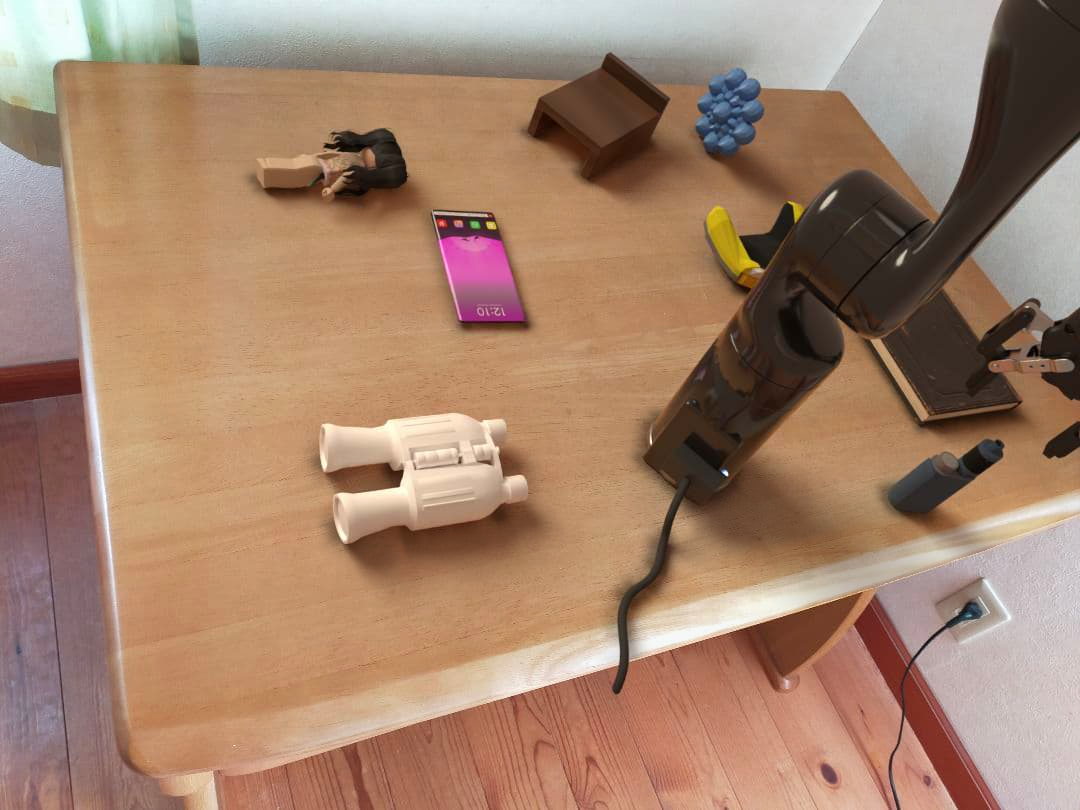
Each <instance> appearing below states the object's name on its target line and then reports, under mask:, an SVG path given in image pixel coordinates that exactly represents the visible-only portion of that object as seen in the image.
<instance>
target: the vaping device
mask: <svg viewBox="0 0 1080 810" xmlns="http://www.w3.org/2000/svg"><path fill="white" fill-rule="evenodd" d="M1003 449H1005V443H1004V442H1003V441H1002V440H1000V439H998V438H997V439H994V440H993V439H991V438H984V439H983V440H981V441H980V442H979V443H977V444H976V445H975V446H974V447H972V448H971V449H970V450H968V451H967V452H965V454H963V455H961V456H960V457H959V458H957V457H956V456H955V455H954V454H953V453H952V452H949V451H947V450H946V451H945V450H944V451H942V452H941V453H939V454H934V455H933V456H932V457H931V458H930V457H928V458H925V460H923V461H921V463H919V464H918V465H917V466H916V467H914V468H913V469H912V470H910V471H909V472H908V473H907V474H906V475H904V476H902V478H901V479H900V480H898V481H897V482H895V483H894V484H893V485H892V487H891V488H890V489H889V492H888V493H887V496H888V500H889V503H890V504H891V505H892V507H894V508H895V509H897V510H899V511H900V510H901V511H906V512H912V513H916V514H921V515H927V514H929V513H930V512H932V511H933V510H934V509H936V508H937V507H939V506H940V505H941V504H943V503H944V502H945V501H947V500H948V499H950V498H951V497H952V496H953V495H955V494H956V493H958V492H960V490H962V489H963V488H965V487H966V486H967V485H969V484H970V483H972V482H974V481H975V480H976V478H977V477H978V476H980V475H981V474H982V473H985V471H987V470H988V469H989V468H991V467H993V465H995V464H996V463H998V462H1000V461H1001V460H1002V459H1003V458H1004V451H1003Z"/></svg>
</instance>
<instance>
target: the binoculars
mask: <svg viewBox="0 0 1080 810" xmlns="http://www.w3.org/2000/svg"><path fill="white" fill-rule="evenodd" d="M508 439H509V433H508V426H507V424H506V421H505V420H504V419H503V418H496V419H484V420H482V421H478V420H477V419H475V418H473V417H471V416H469V415H467V414H463V413H457V412H450V413H442V414H441V413H440V414H432V415H423V416H414V417H413V416H412V417H404V418H395V419H388V420H387V421H386V423H384V424H383V425H381V426H380V425H379V426H375V427H359V426H342V425H337V424H334V423H333V424H332V423H322V424H321V426H320V430H319V440H318V441H319V442H318V443H319V458H320V464H321V469H322V471H323V472H324V473H328V474H329V473H333V472H336V471H338V470H341V469H347V468H354V467H361V466H369V465H377V464H385V463H388V464H389V466H390V468H391V470H392V471H394V472H396V471H403V474H402V478H401V480H400V484H399V487H398V486H397V487H392V488H391V487H390V488H385V489H378V490H371V491H365V492H357V493H351V492H339V493H336V494H334V495H333V498H332V515H333V520H334V524H335V529H336V531H337V534H338V536H339V538H340V541H341V542H342V543H343V544H344V545H348V544H352V543H354V542H356V541H358V540H359V539H361V538H362V537H365V536H368V535H372V534H374V533H377V532H381V531H383V530H386V529H388V528H391V527H400V526H406V527H407V528H408V529H409V531H412V532H413V531H418V530H427V529H431V528H438V527H443V526H449V525H455V524H456V525H457V524H461V523H469V522H473V521H480V520H482V519H484V518H486V517H488V516H490V515H492V514H493V512H494V511H496V510H497V509H498V508H499V506H501V505H502V504H506V505H509V504H513V503H519V502H526V500H527V499H528V497H529V485H528V482H527V479H526V477H525V476H524V475H523V474H517V475H510V476H509V475H508V476H503V470H502V464H501V461H500V457H499V455H500V448H499V446H498V445H505V444H507V441H508ZM485 461H489V462H490V464H488V463H483V462H485Z"/></svg>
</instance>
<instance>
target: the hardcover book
mask: <svg viewBox="0 0 1080 810" xmlns="http://www.w3.org/2000/svg"><path fill="white" fill-rule="evenodd" d="M863 339H864V341H865V342H866V344H867V345H868V347H869V349H870V351H871V352H872V353H873V355H874V357H875V359H876V360H877V361H878V363H879V365H880V366H881V368H882V369H883V371H884V372H885V374H886V376H887V377H888V379H889V381H890V382H891V384H892V385H893V387H894V388H895V390H896V391H897V393H898V394H899V396H900V398H901V399H902V401H903V403H904V404H905V406H906V407H907V409H908V410H909V412H910V414H911V416H912V417H913V418H914V420H915V422H916V424H917V425H918V426H920V425H921V426H922V425H930V424H936V423H942V422H948V421H954V420H960V419H967V418H974V417H980V416H987V415H993V414H999V413H1005V412H1010V411H1013V410H1014V409H1016V408H1017V407H1019V406H1020V405H1021V404H1022V403H1023V402H1024V401H1023V399H1022V397H1021V396H1020V394H1018V391H1017V390H1016V388H1014V386H1013V384H1012V383H1011V382H1010V381H1009V379H1008V378H1007V376H1006V375H1005V373H1004V372H1000V373H999V375H998V377H997V378H995V379H994V380H993V381H992V382H990V383H989V384H988V385H987V386H986V387H984V388H983V389H982V390H981V391H980V392H978V393H977V394H976V395H975V396H974V397H972V398H970V397H969V396H968V395H966V394H965V392H966V390H967V387H966V386H965V383H966V381H967V379H968V378H969V376H970V374H971V373H972V372H973V371H974V370H976V369H977V368H978V367H979V366H980V365H981V364H983V363H984V362H985V361H986V359H985V357H984V356H983V355H981V354H979V353H978V352H977V350H976V348H977V346H978V344H979V343H980V341H981V339H980V338H979V337H978V336H977V334H976V332H975V331H974V329H972V326H971V325H969V323H968V321H967V320H966V318H965V317H964V315H963V314H962V313H961V312H960V310H959V308H958V307H957V306H956V304H955V303H954V302H953V300H952V299H951V297H950V296H949V295H948V293H947V292H946V290H945V289H944V287H942V289H941V290H940V291H939V292H938V293H937V294H936V295H935V296H934V297H933V298H932V299H931V300H930V301H929V302H928V304H927V305H926V306H925V307H924V308H923V309H921V310H920V311H919V312H918V313H917V314H916V315H915V316H914V317H913V318H912V319H911V320H910V321H908V322H907V323H906V324H905V325H904V326H902V327H901V328H899V329H898V330H897V331H895V332H893V333H892V334H890V335H888V336H886V337H883V338H880V339H874V340H870V339H866V338H863Z"/></svg>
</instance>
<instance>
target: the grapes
mask: <svg viewBox="0 0 1080 810" xmlns="http://www.w3.org/2000/svg"><path fill="white" fill-rule="evenodd" d="M761 89H762V86H761V83H760V81H759V80H758V79H757V78H753V77H748V75H747V72H746V71H745V70H744V69H743V68H739V67H736V68H732V69H731V70H729V72H727V73H726V74H722V73H720V74H716V75H715V76H713V77H712V78H711V80H710V81H709V83H708V91H709V92H707V93H704V94H702V95H701V96H700V97H699V99H698V100H697V104H696V106H697V109H698V111H699V112H700V114H702V116H700V117H699V118H698V119H697V121H696V122H695V125H694V127H695V128H694V129H695V132H696V133H697V134H698V135H699V136H701V137H703V141H702V144H703V148H704V149H705V150H706V152H708V153H711V154H715V153H718V152H719V153H720V154H721V155H722V157H723V156H724V157H727V158H729V157H733V156H735V155H736V154H737V153H738V151H740V147H741V146H746V145H749V144H751V143H752V142H754V140H755V138H756V135H757V134H756V133H757V130H756V127H755V126H754V125H753V124H755V123H759V121H760V120H761V119H762V118H763V116H764V115H765V114H764V113H765V106H764V104H763V103H762V101H760V100H757V99H758V97H759V96H760V94H761V91H762V90H761Z"/></svg>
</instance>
